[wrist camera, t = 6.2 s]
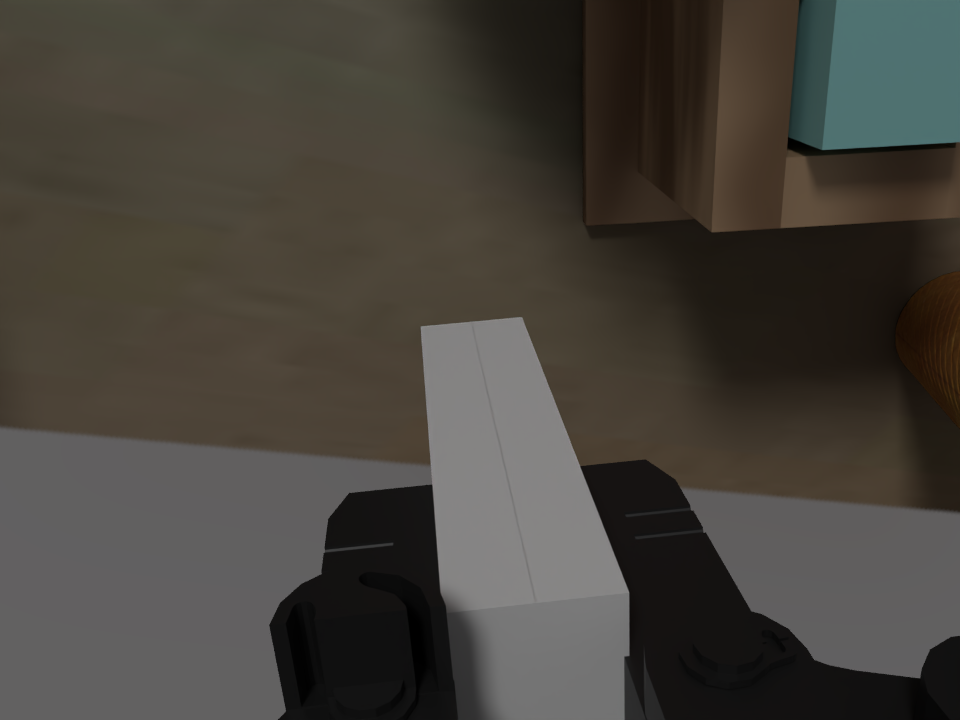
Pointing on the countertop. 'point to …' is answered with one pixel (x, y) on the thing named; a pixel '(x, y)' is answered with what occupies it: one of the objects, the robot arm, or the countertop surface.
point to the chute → (728, 127)
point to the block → (876, 73)
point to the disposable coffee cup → (934, 341)
